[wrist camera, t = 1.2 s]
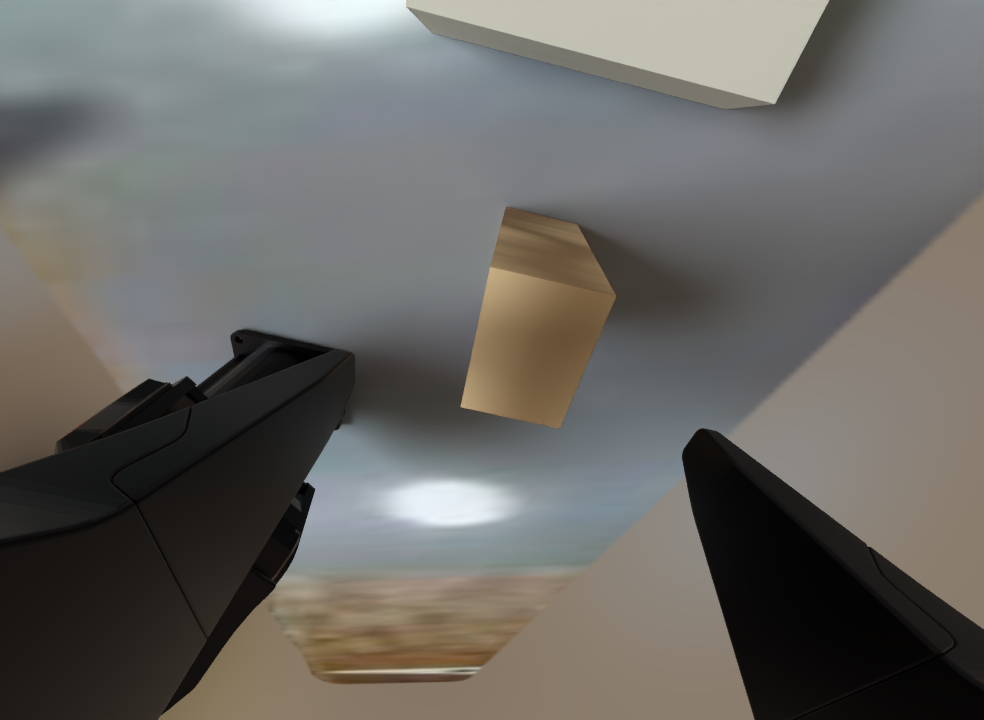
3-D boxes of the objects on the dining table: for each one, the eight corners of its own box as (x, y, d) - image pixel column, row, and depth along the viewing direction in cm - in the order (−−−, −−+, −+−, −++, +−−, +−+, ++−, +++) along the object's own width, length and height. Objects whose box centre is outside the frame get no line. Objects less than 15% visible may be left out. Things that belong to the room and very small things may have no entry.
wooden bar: (485, 301, 20) (460, 407, 12) (505, 206, 17) (490, 266, 10) (546, 315, 20) (559, 428, 12) (577, 223, 17) (616, 296, 10)
